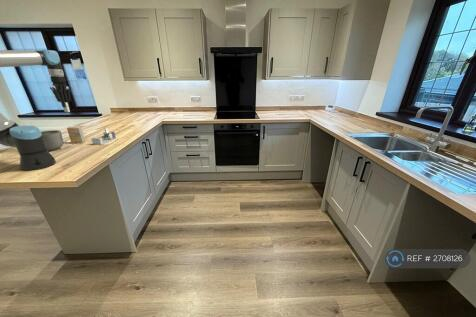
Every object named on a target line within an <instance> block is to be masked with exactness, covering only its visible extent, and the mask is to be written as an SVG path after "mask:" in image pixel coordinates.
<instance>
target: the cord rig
mask: <svg viewBox="0 0 476 317" xmlns="http://www.w3.org/2000/svg"><path fill="white" fill-rule="evenodd" d="M109 132H111V133H112V137H113V138H111V139H105V138H106V137H108V134H107V135H104V134H103V135H102V136H99V137H95V136H94V137H92V138H91V142H92V144H91V145H94V146H97V145H98V146H102V145H104V144H108V143H110V142H112V141H114V139H115V140H117V139H116V138H117V137H116V132H115V131H109ZM109 141H110V142H109Z"/></svg>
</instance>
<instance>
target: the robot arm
mask: <svg viewBox="0 0 476 317" xmlns="http://www.w3.org/2000/svg"><path fill="white" fill-rule="evenodd" d="M61 62H62V61H61V59H60V56H59V53H58V52H57V51H56V50H52V49H51V50H50V49H42V50H32V49H31V50H29V49H28V50H26V49H24V50H23V49H20V50H17V49H16V50H15V49H11V50H10V49H9V50H8V49H5V50H4V49H0V68H10V67H11V68H12V67H30V66H31V67H32V66H44V67H46V69H47V72H48V75H49V76H50V77H49V78H50V79H49V80H50V82H51V83H52V86H49V89H50V90H51V93H53V95H54V97H55V99H56V101H57V103H58V102H59V103H61V107H62V108H63V111H64V112H65V113H70V112H71V110H70V104H69V103H70V102H71V100H72V99H71V87H70V86H67V84H66V83H67V81H66V77H65V74H64V70H63V66H62V63H61ZM41 132H42V131H41V130H40V128H38V126H34V125H19V124H18V123H16V122H15V121H14V120H11V119H10V120H9V119H8V118H6V116H5V115H4V114H3V113H1V112H0V145H1V146H4V147H9V148H10V147H11V148H16V149H17V152H18V154H19V156H20V157H19V167H20V169H21V171H25V170H26V171H37V170H41V169H46V168H48V167H51V166H53V165H55V164H56V163H57V162H56V159H55V157H54V156H53V155H52V154H51V152H50V151H48V150H47V148H46V145H45V142H44V140H43V137H42V133H41Z"/></svg>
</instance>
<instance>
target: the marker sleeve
mask: <svg viewBox="0 0 476 317" xmlns="http://www.w3.org/2000/svg"><path fill="white" fill-rule="evenodd" d="M103 129H104V132H102V133H103V136H104V135H107V134H108V137H106V138H104V139H111V138H113V137H112V133H111V132H112V131H111V132H110V131H109V127H108V126H107V127H105V128H103Z"/></svg>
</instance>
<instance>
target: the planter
mask: <svg viewBox="0 0 476 317" xmlns="http://www.w3.org/2000/svg"><path fill="white" fill-rule="evenodd" d="M40 132H41V133H42V137H43V140H44V142H45V145H46V148H47V150H48V152H55V151H59V150H60V149H61V148H62V147H63V145H64V138H63V135H62V134H63V133H62V131H61V130H57V129H54V130H53V129H52V130H43V131H40Z"/></svg>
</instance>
